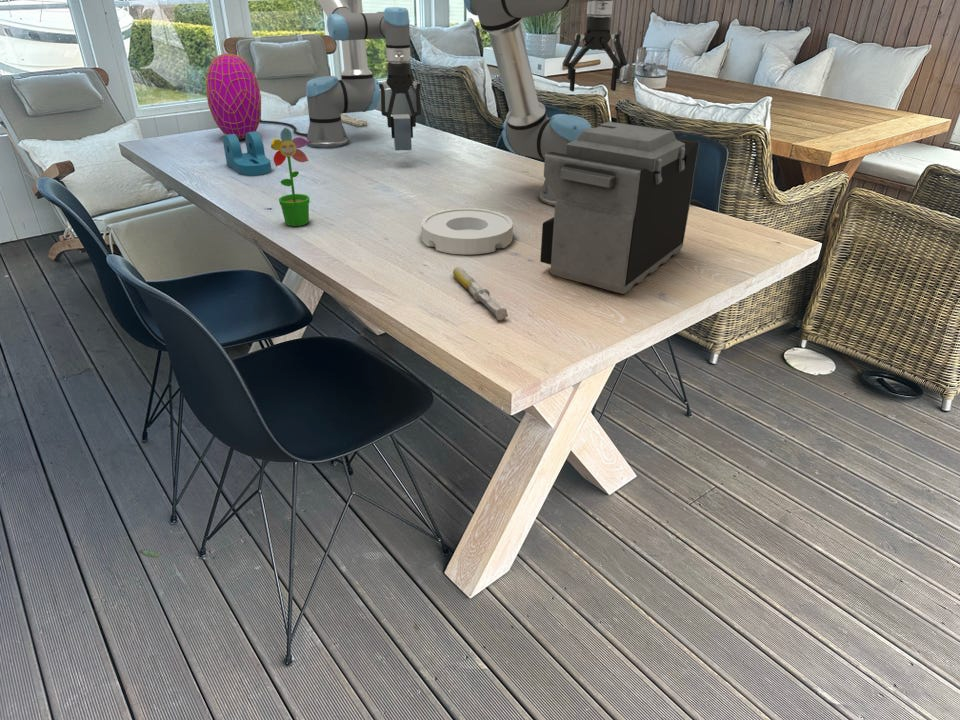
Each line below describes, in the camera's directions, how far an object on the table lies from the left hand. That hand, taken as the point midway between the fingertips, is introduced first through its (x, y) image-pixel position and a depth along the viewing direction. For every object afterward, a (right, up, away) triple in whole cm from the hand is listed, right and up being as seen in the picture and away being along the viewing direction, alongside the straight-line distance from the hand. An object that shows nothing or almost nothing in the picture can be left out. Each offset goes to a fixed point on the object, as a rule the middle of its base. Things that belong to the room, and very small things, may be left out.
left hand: (402, 137), depth 229 cm
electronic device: (+58, -52, -67) cm, 102 cm away
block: (0, -3, +2) cm, 4 cm away
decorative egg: (-67, +11, +37) cm, 77 cm away
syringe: (+26, -61, -84) cm, 107 cm away
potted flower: (-23, -38, -46) cm, 64 cm away
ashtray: (+23, -44, -54) cm, 73 cm away
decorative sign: (-32, +28, +66) cm, 79 cm away
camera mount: (-50, -11, 0) cm, 52 cm away
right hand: (+62, +11, -11) cm, 64 cm away
